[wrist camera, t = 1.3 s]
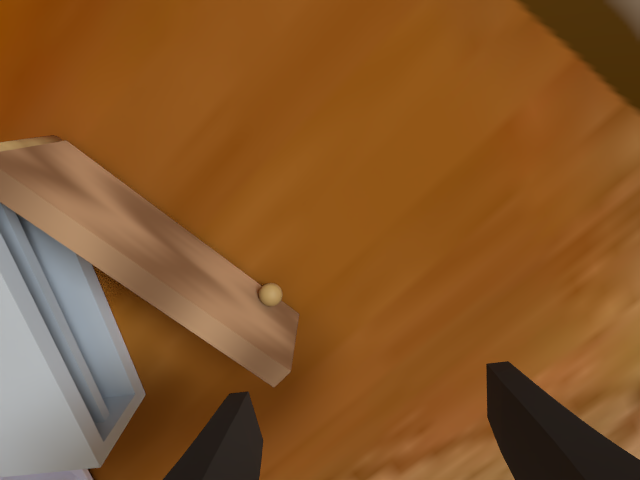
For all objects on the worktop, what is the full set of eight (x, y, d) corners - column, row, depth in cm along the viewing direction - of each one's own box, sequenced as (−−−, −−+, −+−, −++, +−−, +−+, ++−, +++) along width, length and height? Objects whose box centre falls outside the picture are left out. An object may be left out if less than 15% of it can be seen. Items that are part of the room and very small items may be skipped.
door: (39, 148, 18) (-54, 165, 14) (61, 110, 17) (-30, 115, 13) (285, 327, 21) (273, 387, 17) (311, 301, 21) (306, 356, 16)
